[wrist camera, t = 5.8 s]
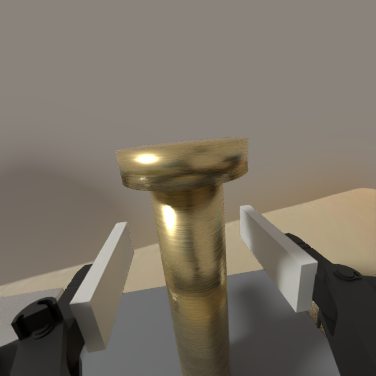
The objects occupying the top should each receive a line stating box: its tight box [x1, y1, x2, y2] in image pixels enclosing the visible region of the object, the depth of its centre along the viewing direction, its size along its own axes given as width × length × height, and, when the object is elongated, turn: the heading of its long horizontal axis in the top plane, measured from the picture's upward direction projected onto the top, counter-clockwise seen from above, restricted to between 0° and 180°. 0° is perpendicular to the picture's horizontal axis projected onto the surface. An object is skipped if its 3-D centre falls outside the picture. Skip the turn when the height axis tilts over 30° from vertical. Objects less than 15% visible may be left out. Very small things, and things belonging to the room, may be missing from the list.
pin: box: [116, 137, 248, 376], centre depth 10 cm, size 5×5×16 cm
